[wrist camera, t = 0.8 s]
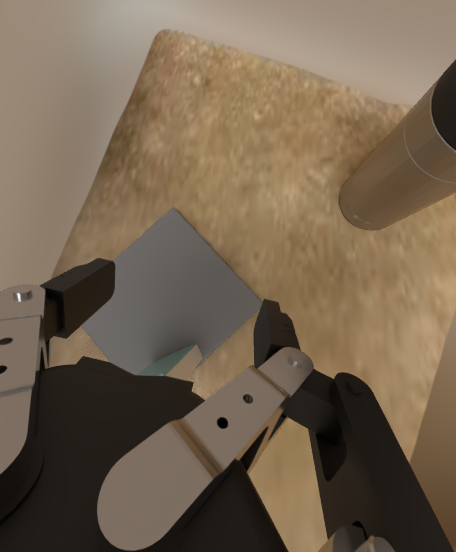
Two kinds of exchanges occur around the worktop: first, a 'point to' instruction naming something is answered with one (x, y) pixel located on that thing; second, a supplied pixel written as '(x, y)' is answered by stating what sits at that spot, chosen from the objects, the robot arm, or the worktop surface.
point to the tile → (175, 364)
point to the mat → (169, 298)
